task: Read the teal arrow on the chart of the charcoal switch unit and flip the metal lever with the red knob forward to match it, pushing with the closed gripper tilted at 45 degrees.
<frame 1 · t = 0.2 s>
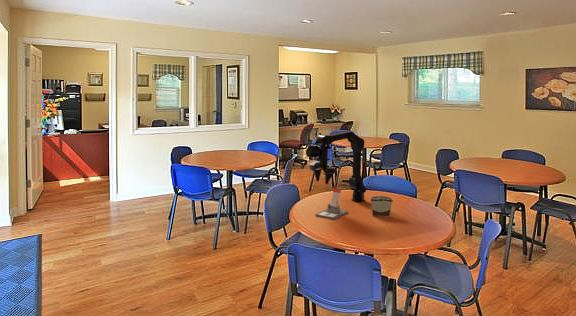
hand: (321, 182, 250), 15 cm above the table, tool pointing down, fingers open, 9 cm apart
lever: (335, 198, 239), point 8 cm above the table, hinge at -22.0°
food container: (380, 215, 236), on the table
switch unit: (333, 213, 238), on the table
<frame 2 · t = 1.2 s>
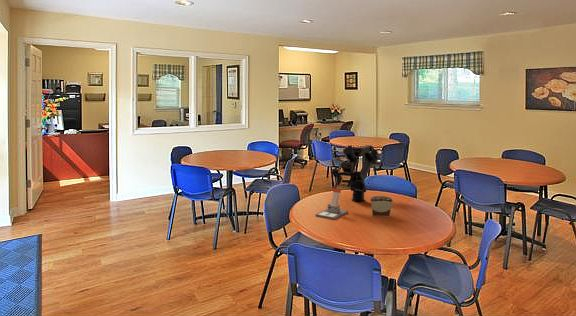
hand: (342, 186, 245), 13 cm above the table, tool tilted 45°, fingers open, 6 cm apart
nothing on the table moved.
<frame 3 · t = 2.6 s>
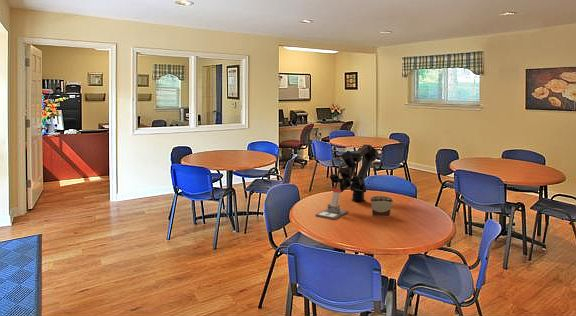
hand: (340, 191, 244), 11 cm above the table, tool tilted 45°, fingers closed
nothing on the table moved.
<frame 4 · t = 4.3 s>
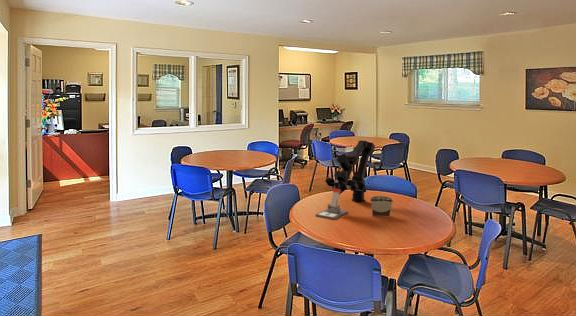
hand: (336, 195, 240), 10 cm above the table, tool tilted 45°, fingers closed, pressing on lever
lever: (335, 198, 238), point 8 cm above the table, hinge at -19.6°, touching gripper
everything else where it was.
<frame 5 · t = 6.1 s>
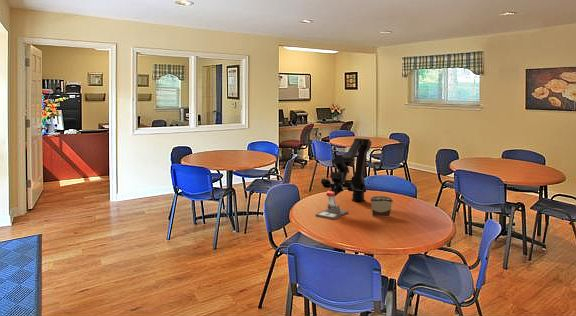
hand: (332, 197, 235), 10 cm above the table, tool tilted 45°, fingers closed, pressing on lever
lever: (332, 200, 235), point 8 cm above the table, hinge at 24.1°, touching gripper
everything else where it was.
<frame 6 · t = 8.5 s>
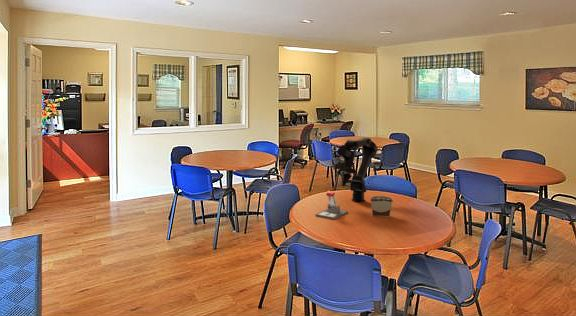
hand: (342, 186, 248), 13 cm above the table, tool tilted 25°, fingers closed
lever: (332, 200, 235), point 8 cm above the table, hinge at 24.3°
everything else where it was.
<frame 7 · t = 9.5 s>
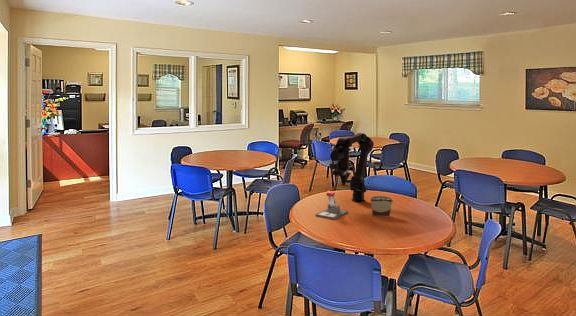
hand: (343, 185, 251), 13 cm above the table, tool pointing down, fingers closed
nothing on the table moved.
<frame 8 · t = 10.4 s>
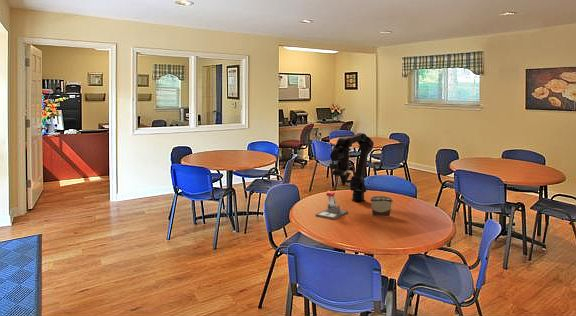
hand: (343, 185, 251), 13 cm above the table, tool pointing down, fingers closed
nothing on the table moved.
at the end: lever at +24° (first picture: -22°); food container moved 0.2 cm from its start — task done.
